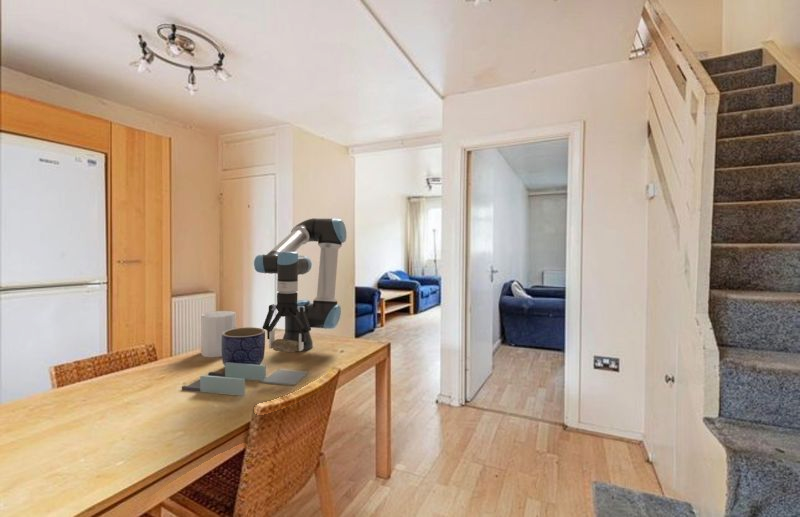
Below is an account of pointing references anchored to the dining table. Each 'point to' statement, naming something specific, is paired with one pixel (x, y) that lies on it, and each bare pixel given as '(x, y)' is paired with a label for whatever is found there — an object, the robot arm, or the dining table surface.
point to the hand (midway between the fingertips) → (286, 349)
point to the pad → (285, 377)
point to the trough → (228, 379)
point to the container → (215, 331)
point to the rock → (285, 345)
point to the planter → (243, 345)
